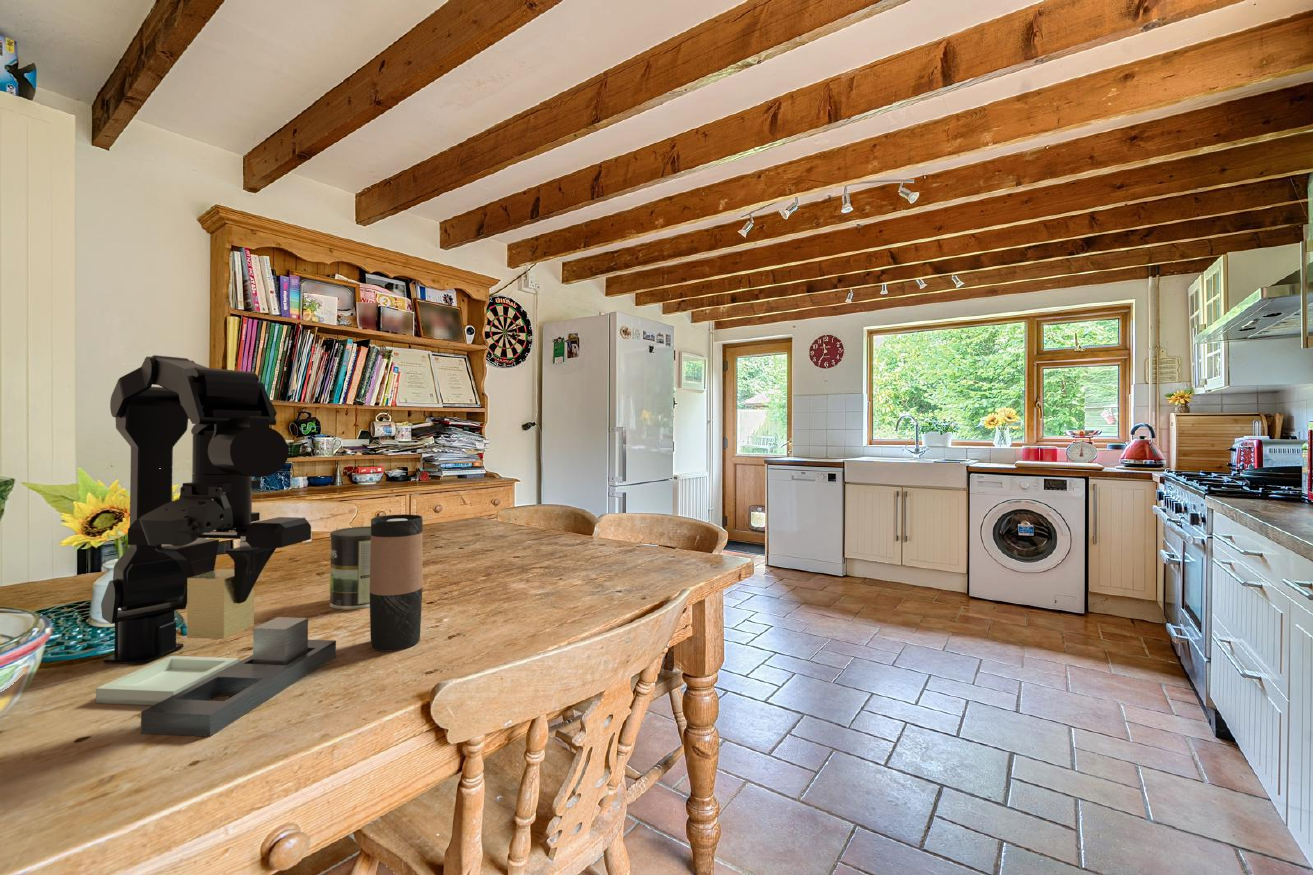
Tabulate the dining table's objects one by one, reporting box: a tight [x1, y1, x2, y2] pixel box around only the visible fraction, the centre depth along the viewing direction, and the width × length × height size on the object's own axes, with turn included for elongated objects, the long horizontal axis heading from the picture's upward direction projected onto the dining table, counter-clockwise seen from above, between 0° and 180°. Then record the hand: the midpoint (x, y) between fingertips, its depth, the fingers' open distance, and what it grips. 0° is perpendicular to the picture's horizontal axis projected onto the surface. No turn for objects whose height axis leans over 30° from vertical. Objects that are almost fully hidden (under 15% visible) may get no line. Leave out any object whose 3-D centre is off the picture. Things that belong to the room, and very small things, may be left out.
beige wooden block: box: [186, 568, 255, 640], centre depth 67 cm, size 4×4×7 cm
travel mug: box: [369, 514, 424, 652], centre depth 89 cm, size 8×8×20 cm
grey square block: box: [252, 616, 309, 665], centre depth 77 cm, size 4×4×7 cm
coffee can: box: [329, 525, 371, 611], centre depth 110 cm, size 10×10×14 cm
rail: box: [140, 639, 337, 738], centre depth 72 cm, size 8×22×2 cm, turn 177°
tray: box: [95, 655, 241, 706], centre depth 73 cm, size 10×10×2 cm
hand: (221, 602), depth 67 cm, fingers closed on beige wooden block, 4 cm apart
